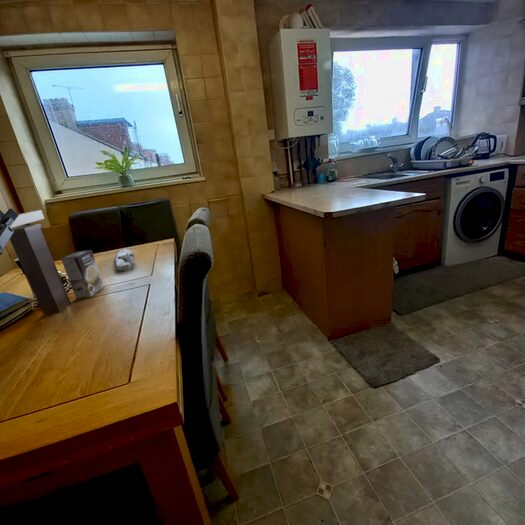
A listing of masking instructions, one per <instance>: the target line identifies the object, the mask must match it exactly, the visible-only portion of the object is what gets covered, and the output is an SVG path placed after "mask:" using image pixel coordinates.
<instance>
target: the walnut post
mask: <svg viewBox="0 0 525 525" xmlns="http://www.w3.org/2000/svg"><path fill="white" fill-rule="evenodd" d="M41 227H43V226H42V223H32V224H24V225H20V226H17V227H13V228H12V229H13V230H14V233H13V234H12V236H11V238H10V239H9V241H10V243H11V245H12V248H13V250H14V252H15V254H16V257H17V260H18V261H19V263H20V266H21V267H22V270H23V272H24V275H25V277H26V278H27V281H28V283H29V285H30V288H31V290H32V292H33V294H34V296H35V298H36V301H37V304H38V305H39V307H40V310H41V312H42V314H43V315H48V314H49V315H50V314H59V313H61V312H63V311H64V310H65V309H66V308H68V307H69V306H70V305H72V303H71V300H70V298H69V295H68V293H67V290H66V288H65V285H64V283H63V280H62V278H61V275H60V274H59V270H58V269H57V266H56V263H55V260H54V258H53V256H52V253H51V251H50V248H49V246H48V244H47V241H46V239H45V236H44V234H43V232H42V229H41Z"/></svg>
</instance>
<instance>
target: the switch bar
mask: <svg viewBox="0 0 525 525" xmlns="http://www.w3.org/2000/svg"><path fill="white" fill-rule="evenodd" d="M17 214H18V215H19V216H18V217H17V218H16V219H15V221H14V222H13V224H12V225H11V226H10V227H11V228H15V227H19V226H25V225H28V224H31V223H34V222H38V221H42V220H45V217H44V216H45V215H44V214H43V210H42V209H39V210H32V211H27V212H23V213H17Z"/></svg>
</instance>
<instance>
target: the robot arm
mask: <svg viewBox="0 0 525 525" xmlns="http://www.w3.org/2000/svg"><path fill="white" fill-rule="evenodd" d="M18 214H19V213H17V212H16V211H15V209H13V208H9V209H8V210H7V211H5V213H4V212H3V211H2V210H1V209H0V256H1V255H3V253H4V249H5V247H6V245H7V244H8V242H9V241H10V238H11V236H12V234H13V233H14V230H13V229H12V228H11V227H10V226H11V225H12V224H13V222H14V221H15V219H16V218H17V217H18V216H19V215H18Z"/></svg>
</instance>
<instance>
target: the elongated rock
mask: <svg viewBox="0 0 525 525" xmlns="http://www.w3.org/2000/svg"><path fill="white" fill-rule="evenodd" d="M115 254H116V255H115V257H114V259H113V266H114V267H115V268H116V270H117V271H126V270H129V269H132V267H133V266H134V265H135V254H134V252H133V250H131V248H124V249H121V250H119V251H117V252H116V253H115Z"/></svg>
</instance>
